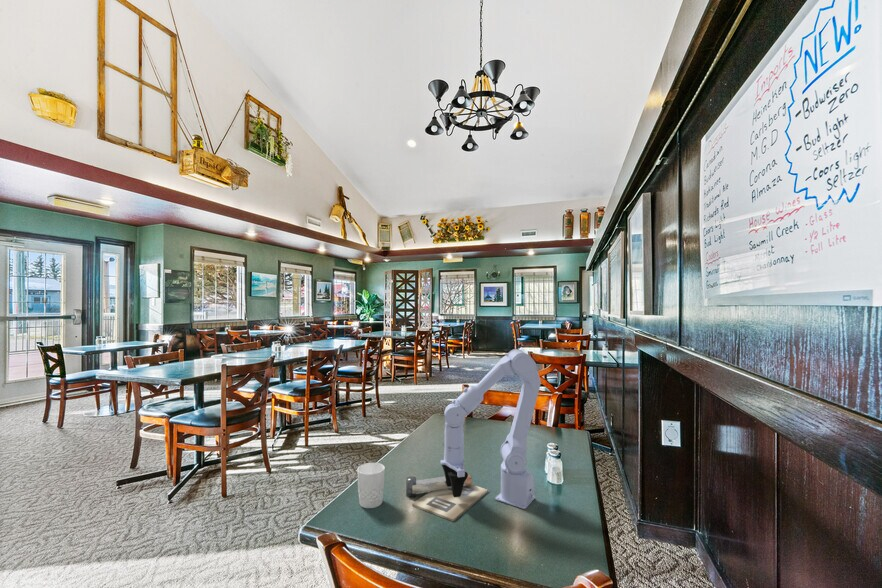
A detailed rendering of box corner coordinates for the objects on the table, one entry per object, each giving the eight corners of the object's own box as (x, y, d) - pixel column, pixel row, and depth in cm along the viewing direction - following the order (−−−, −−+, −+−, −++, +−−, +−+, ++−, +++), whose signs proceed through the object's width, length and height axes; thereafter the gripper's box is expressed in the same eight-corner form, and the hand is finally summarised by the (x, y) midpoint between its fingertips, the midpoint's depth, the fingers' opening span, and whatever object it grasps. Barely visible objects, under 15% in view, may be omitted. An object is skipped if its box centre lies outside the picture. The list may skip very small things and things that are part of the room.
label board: (488, 491, 122) (488, 489, 122) (453, 521, 105) (453, 518, 105) (450, 479, 129) (450, 477, 129) (412, 505, 113) (412, 503, 113)
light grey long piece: (467, 483, 126) (467, 468, 126) (471, 488, 123) (471, 472, 123) (405, 493, 120) (405, 477, 120) (407, 498, 117) (407, 481, 117)
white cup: (351, 505, 113) (351, 470, 113) (368, 493, 120) (368, 460, 120) (373, 512, 109) (373, 476, 109) (389, 499, 116) (390, 465, 116)
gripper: (434, 438, 123) (434, 481, 123) (448, 456, 109) (447, 505, 109) (456, 436, 125) (456, 478, 125) (471, 453, 111) (471, 501, 111)
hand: (453, 491), depth 117 cm, fingers open, 6 cm apart
